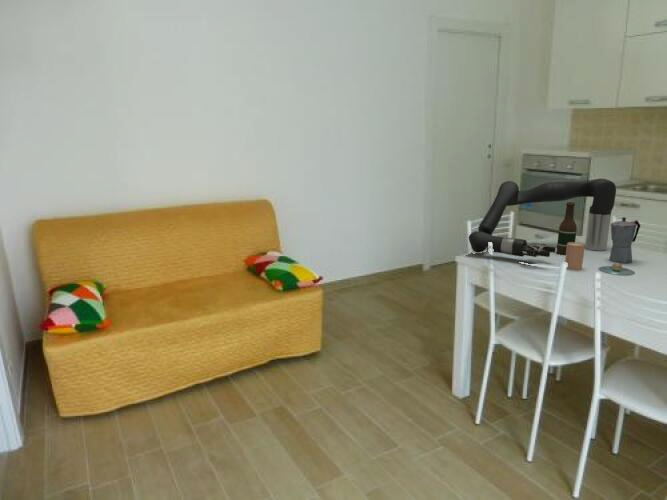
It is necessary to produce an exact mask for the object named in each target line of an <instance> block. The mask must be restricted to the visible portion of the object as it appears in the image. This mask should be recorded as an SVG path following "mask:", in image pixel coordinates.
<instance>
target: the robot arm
mask: <svg viewBox="0 0 667 500" xmlns="http://www.w3.org/2000/svg"><path fill="white" fill-rule="evenodd" d="M519 188H520V187H519V185H518V184H517V183H516V182H515V181H512V180H507V181H504V182H502V183H501V184H500V186H499V187H498V191H497V195H495V198H494V201H493V202H492V204H491V206H490V208H489V209H488V210H487V212H486V214H485V216H484V217H483V219H482V220H481V222H480V223H479V225H478V228H477V229H478V230H475V231H473V232H471V233H470V234H468V235H469V236H468V241H469V244H470V248H471V249H472V250H473V252H475V253H478V254H479V253H482V252H485V251H486V249H487V248H488V242H492V243H493V249H494V252H493V253H499V254H505V255H507V256H508V255H510V256H515V257H524V256H525V257H533V258H537V257H546V258H549V257H550V255H551V253H555V252H556V247H555V246H548V245H547V244H546V243H535V242H532V243H530V244H528V241H527V240H526V239H522V238H514V237H503V236H501V237H500V236H495V235H493V233H494V231H496V228H497V227H498V225H499V223H500V221H501V218H502V216H503V214H504V212H505V210H506V208H507V207H508V206H509V207H512V206H517V205H519V206H520V205H524V204H533V203H535V204H536V203H545V202H546V203H547V202H548V203H550V202H562V201H563V202H564V201H569V200H572V199H575V198H582V197H583V198H584V197H585V198H592V199H593V200H592V202H591V203H592V204H591V205H590V207H589V209H588V210H589V211H588V218H587V227H586V235H585V243H584V246H585V247H584V249H587V250H592V251H598V252H599V251H600V252H601V251H602V252H603V251H607V247H608V240H609V233H610V227H611V217H612V211H613V209H614V206H615V201H616V196H617V195H616V194H617V186H616V184H615V183H614V181H612V180H610V179H607V178H596V179H591V180H589V179H588V180H584V181H583V180H581V181H550V182H549V181H548V182H545V183H542V184H539V185H537V186H535V187H533V188H530V189H525V190H520V189H519Z"/></svg>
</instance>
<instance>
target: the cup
mask: <svg viewBox="0 0 667 500" xmlns="http://www.w3.org/2000/svg"><path fill="white" fill-rule="evenodd" d="M584 256H585V243H582V242H577V241H575V242H569V243H568V244H567V248H566V255H565V258H564V263H565V262H567V263H568V267H567V268H566V269H567V270H571V271H581V270H583V263H584Z"/></svg>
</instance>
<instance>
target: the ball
mask: <svg viewBox="0 0 667 500" xmlns="http://www.w3.org/2000/svg"><path fill="white" fill-rule="evenodd" d="M611 266H612V268H613V270H615V271H619V270H621V268H623V266H622V263H615V262H613V264H612V265H611Z"/></svg>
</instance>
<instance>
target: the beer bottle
mask: <svg viewBox="0 0 667 500" xmlns="http://www.w3.org/2000/svg"><path fill="white" fill-rule="evenodd" d="M575 205H576V204H575V202H572V201H569V202H566V204H565V206H566V209H565V213H564V219H562V222H560V224H559V228H558V235H557V245H556V254H557V255H559V254H560V256H566V248H567V244H568V243H569V242H576V239H577V237H576V236H577V230H578V229H577V227H578V226H577V223H576V222H575V218H574V217H575V216H574V214H575Z"/></svg>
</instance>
